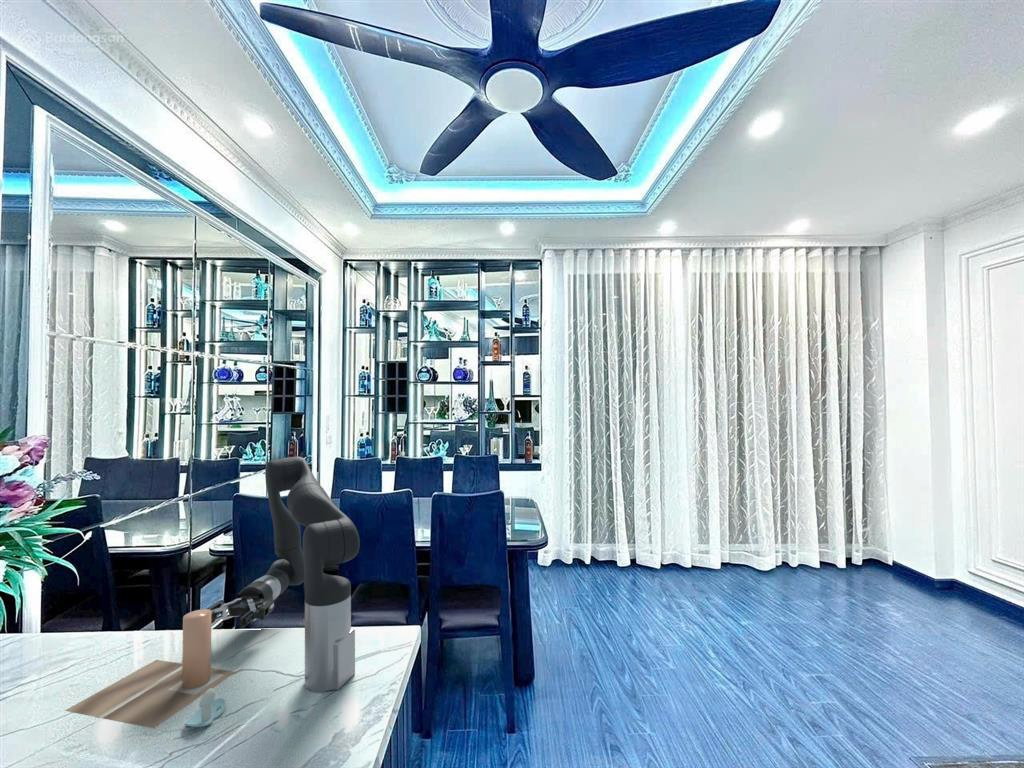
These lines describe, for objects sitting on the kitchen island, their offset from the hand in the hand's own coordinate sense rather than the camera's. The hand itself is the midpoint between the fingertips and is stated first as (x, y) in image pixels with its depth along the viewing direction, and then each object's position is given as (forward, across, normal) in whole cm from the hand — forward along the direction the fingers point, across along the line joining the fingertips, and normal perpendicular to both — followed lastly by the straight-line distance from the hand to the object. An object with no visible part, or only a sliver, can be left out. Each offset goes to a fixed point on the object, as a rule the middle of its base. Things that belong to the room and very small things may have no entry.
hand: (222, 624), depth 107 cm
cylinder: (+9, 0, +8) cm, 12 cm away
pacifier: (+20, +9, +9) cm, 24 cm away
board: (+11, -7, +8) cm, 16 cm away
